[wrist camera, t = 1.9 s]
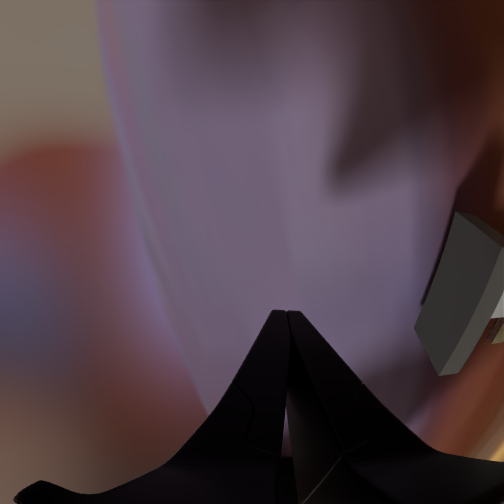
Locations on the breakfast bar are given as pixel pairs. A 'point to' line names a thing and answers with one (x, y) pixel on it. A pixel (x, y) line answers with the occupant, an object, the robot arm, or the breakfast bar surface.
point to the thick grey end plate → (463, 293)
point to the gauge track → (497, 332)
